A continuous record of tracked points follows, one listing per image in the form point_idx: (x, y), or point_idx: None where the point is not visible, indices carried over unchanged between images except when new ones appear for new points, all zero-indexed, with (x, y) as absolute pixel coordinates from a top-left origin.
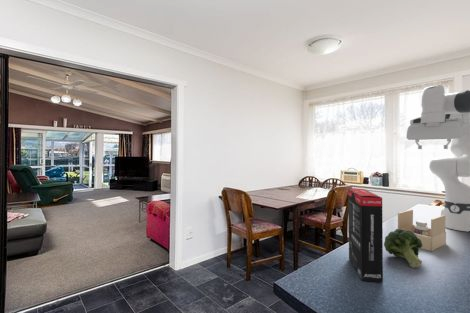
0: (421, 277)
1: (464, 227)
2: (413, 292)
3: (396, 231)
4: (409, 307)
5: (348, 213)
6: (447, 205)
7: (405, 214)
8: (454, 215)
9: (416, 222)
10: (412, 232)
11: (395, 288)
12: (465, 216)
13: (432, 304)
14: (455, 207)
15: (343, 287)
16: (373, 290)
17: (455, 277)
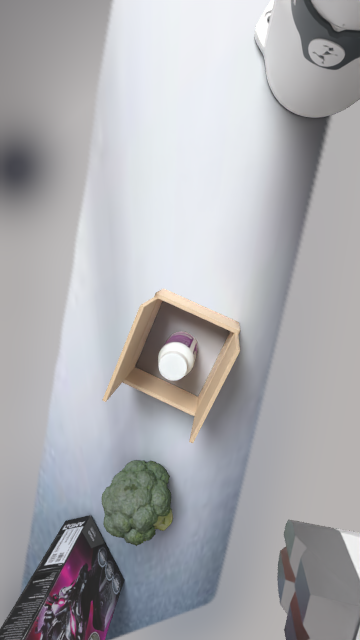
0: (172, 539)
1: (333, 105)
2: (160, 587)
3: (115, 529)
4: (156, 621)
5: (5, 620)
6: (301, 21)
7: (125, 358)
8: (314, 72)
9: (160, 370)
10: (146, 526)
11: (140, 585)
12: (356, 69)
13: (180, 606)
14: (330, 50)
15: None
16: None
17: (220, 518)
